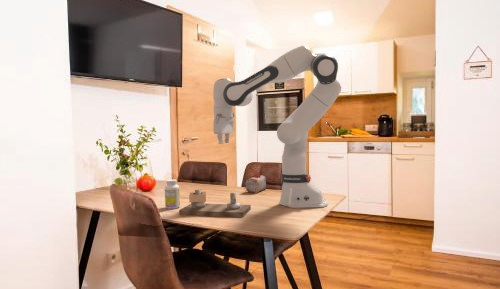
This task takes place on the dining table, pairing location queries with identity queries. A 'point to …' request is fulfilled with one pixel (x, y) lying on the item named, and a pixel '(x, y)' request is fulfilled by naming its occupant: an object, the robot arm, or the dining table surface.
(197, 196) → the tan faceted disc
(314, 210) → the dining table surface
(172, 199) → the supplement bottle
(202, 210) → the board
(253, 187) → the food item
